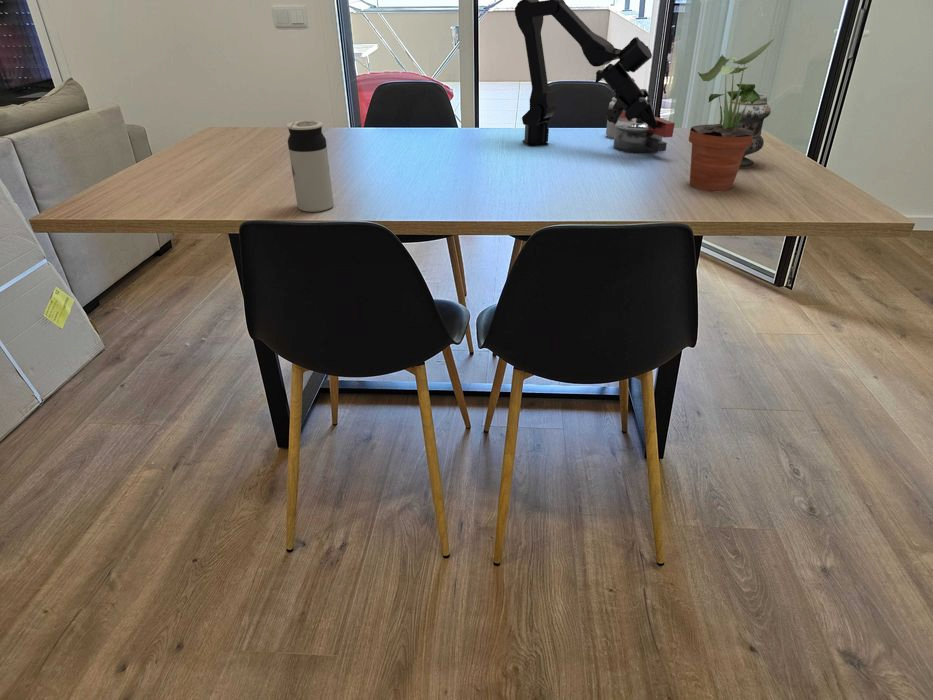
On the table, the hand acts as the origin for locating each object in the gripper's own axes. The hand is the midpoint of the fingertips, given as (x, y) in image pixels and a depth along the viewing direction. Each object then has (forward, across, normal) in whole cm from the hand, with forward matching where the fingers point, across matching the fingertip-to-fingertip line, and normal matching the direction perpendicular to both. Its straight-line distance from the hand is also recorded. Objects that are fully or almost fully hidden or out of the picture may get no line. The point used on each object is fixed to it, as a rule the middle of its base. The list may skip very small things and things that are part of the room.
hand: (655, 127), depth 169 cm
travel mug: (-45, +66, -57) cm, 98 cm away
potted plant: (+16, +24, +4) cm, 29 cm away
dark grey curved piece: (+3, -8, -8) cm, 12 cm away
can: (-2, -24, -14) cm, 27 cm away
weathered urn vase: (+22, +1, +10) cm, 24 cm away
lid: (-1, -8, -3) cm, 9 cm away
